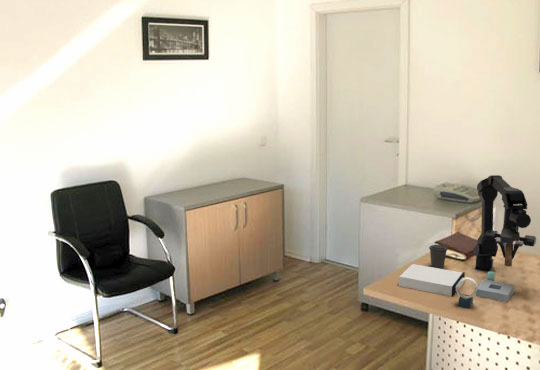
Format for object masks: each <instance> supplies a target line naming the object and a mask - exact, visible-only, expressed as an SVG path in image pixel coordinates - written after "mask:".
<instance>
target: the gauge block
mask: <svg viewBox="0 0 540 370" xmlns="http://www.w3.org/2000/svg"><path fill="white" fill-rule="evenodd" d="M514 289H515V284H511V283H507V282H501V281H500V282H499V281H495V280H494V281H490V280H487V279H485V278H484V279H482V281H481V282H480V283H479V284H478V289H477V291H476V293H475V295H476V296H475V297H479V296H480V297H479V298H484V297H485V298H484V299H488V298H489V300H494V301H498V302H504V303H508V302H509V300H510V298H511V297H512V295H513V294H514V291H515V290H514Z"/></svg>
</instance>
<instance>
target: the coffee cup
mask: <svg viewBox="0 0 540 370" xmlns="http://www.w3.org/2000/svg"><path fill="white" fill-rule="evenodd" d="M428 249H429V252H430V264H431V265H430V267H433V268H439V269H444V267H445V262H446V255H447V251H448V247H447V246H445V245H442V244H432V245H430V246H429V248H428Z"/></svg>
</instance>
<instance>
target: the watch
mask: <svg viewBox="0 0 540 370" xmlns="http://www.w3.org/2000/svg"><path fill="white" fill-rule="evenodd" d="M466 281H470V282H471V283H473V285H474V286H475V288H474V291H473V292H472V293H471V294H470V295H469V294H465V293H462V292H461V291H460V289H461V287H463V285H464V283H465V282H466ZM478 286H479V284H478V282H477V281H476V280H475V279H474V278H473V277H469V276H464V278H462V279H461V280H460V281H459V282H458V284H457V285H456V287H455V288H456V294H457V295H458V296H459V298H458V305H457V307H459V308H464V309H469V310H470V309H471V307H472V306H473V304H474V303H473V302H474V296H475V295H476V291H477V289H478Z"/></svg>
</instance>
